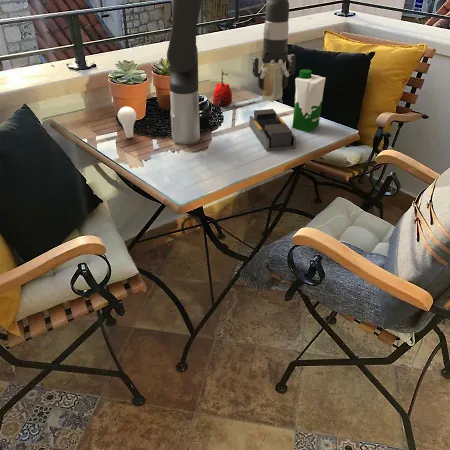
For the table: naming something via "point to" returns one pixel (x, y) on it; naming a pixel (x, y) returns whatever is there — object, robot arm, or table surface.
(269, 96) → the skincare box
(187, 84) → the robot arm
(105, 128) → the table surface
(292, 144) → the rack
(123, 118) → the lightbulb
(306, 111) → the milk carton
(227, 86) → the red clay folk toy
